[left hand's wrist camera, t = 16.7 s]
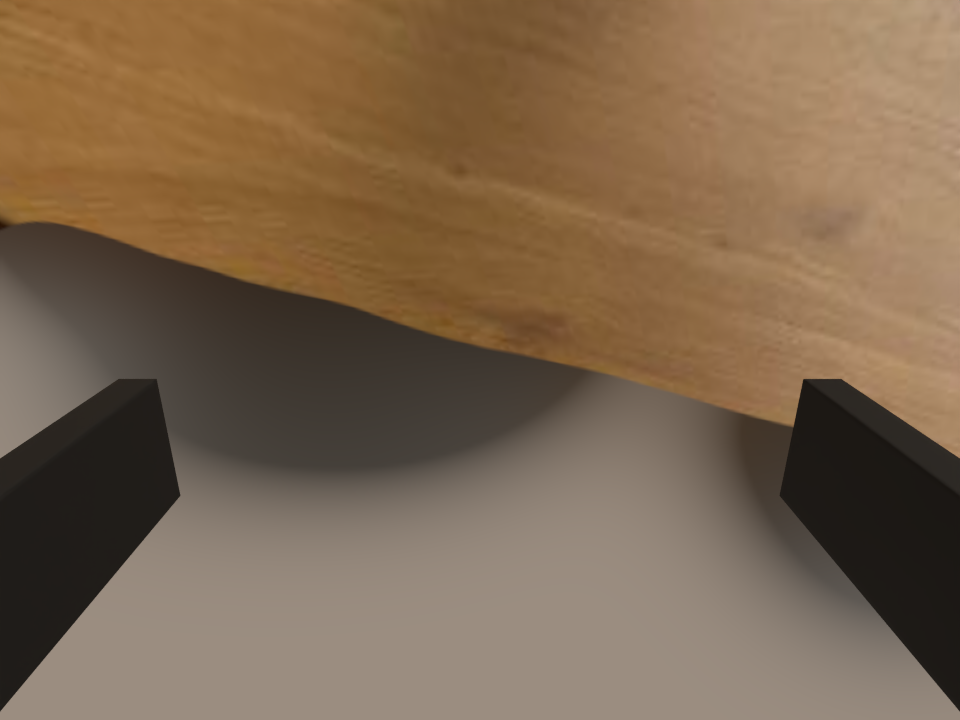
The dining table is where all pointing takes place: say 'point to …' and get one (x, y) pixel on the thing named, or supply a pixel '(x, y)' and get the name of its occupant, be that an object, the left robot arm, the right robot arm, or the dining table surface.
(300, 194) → the dining table surface
